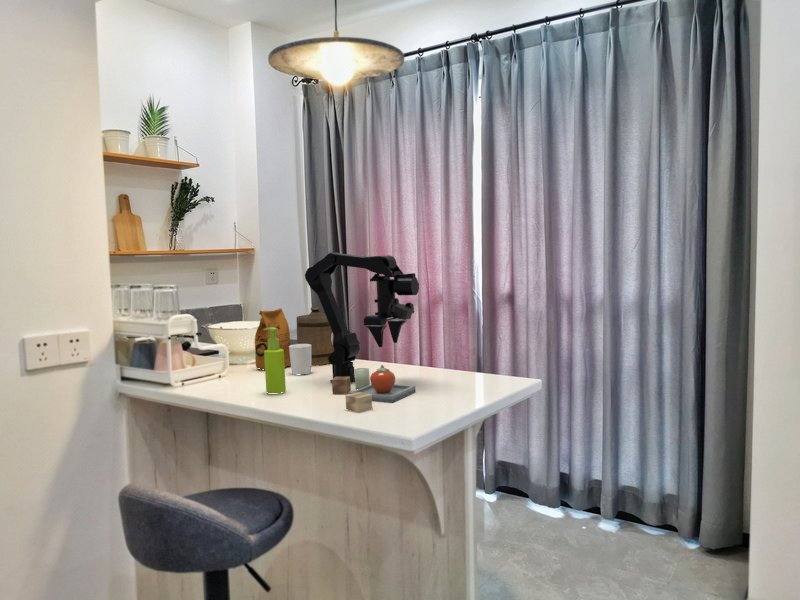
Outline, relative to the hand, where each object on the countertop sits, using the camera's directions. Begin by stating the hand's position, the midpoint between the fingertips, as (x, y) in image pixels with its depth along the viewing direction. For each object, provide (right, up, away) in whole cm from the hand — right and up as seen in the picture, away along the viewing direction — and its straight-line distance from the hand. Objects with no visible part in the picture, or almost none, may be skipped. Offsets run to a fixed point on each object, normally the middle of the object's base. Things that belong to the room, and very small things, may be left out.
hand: (388, 344), depth 199 cm
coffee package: (-43, -12, +37) cm, 58 cm away
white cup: (-31, -12, +25) cm, 41 cm away
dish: (-1, -14, -14) cm, 20 cm away
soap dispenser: (-35, -15, -4) cm, 38 cm away
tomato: (-1, -13, -14) cm, 19 cm away
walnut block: (-14, -14, -8) cm, 21 cm away
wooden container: (-28, -10, +46) cm, 55 cm away
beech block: (-7, -15, -29) cm, 34 cm away
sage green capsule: (-8, -13, -3) cm, 16 cm away
